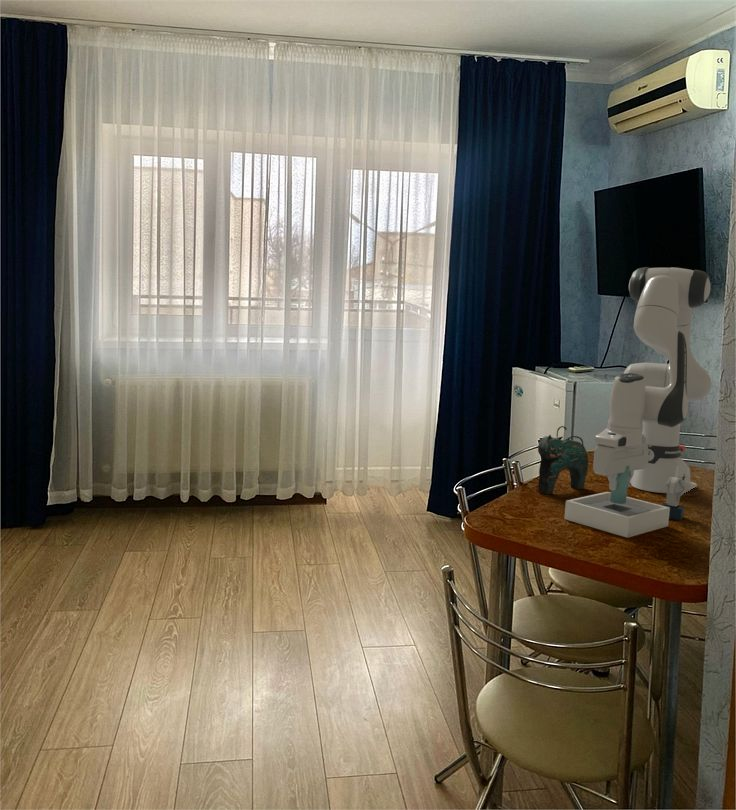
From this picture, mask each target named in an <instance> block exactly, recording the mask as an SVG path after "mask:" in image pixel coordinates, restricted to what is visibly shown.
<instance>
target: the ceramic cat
mask: <svg viewBox="0 0 736 810" xmlns="http://www.w3.org/2000/svg"><path fill="white" fill-rule="evenodd" d="M562 428H563V429H564V430H565V431H567V427H566V426H564V425H561V426H559V427H558V428H557V430H556V437H553V436H552V434H549V435H547V436H543V437H542V438H541V439H540V440H539V443H538V448H537V452H538V454H539V456H540V464H539V469H538V475H539V476H538V483H537V485H538V487H537V488H538V491H540V492H542V493H545V494H544V495H546V494H548V495H552V493H554V488H555V486H556V482H557V480H558V477H559V476H560V473H561V472H562V471H565V470H568V473H569V477H570V488H571V487H572V488H573V489H575V490H577V489H578V490H582V489H584V488H585V482H586V479H587V476H588V475H587V474H588V472H589V471H588V470H589V469H588V468H589V458H588V457H589V456H588V453H587V450H586V447H585V445H584V440H583V438H582V437H580V436H577V435H572V436H571V435H570V437H569V436H568V437H567V438H564V436H559V435H558V433H559V430H560V429H562ZM558 436H559V437H558ZM563 438H564V439H563ZM571 438H575V439H579V440H580V441H577V440H572V439H571ZM538 491H537V492H538ZM542 493H541V494H542Z"/></svg>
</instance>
